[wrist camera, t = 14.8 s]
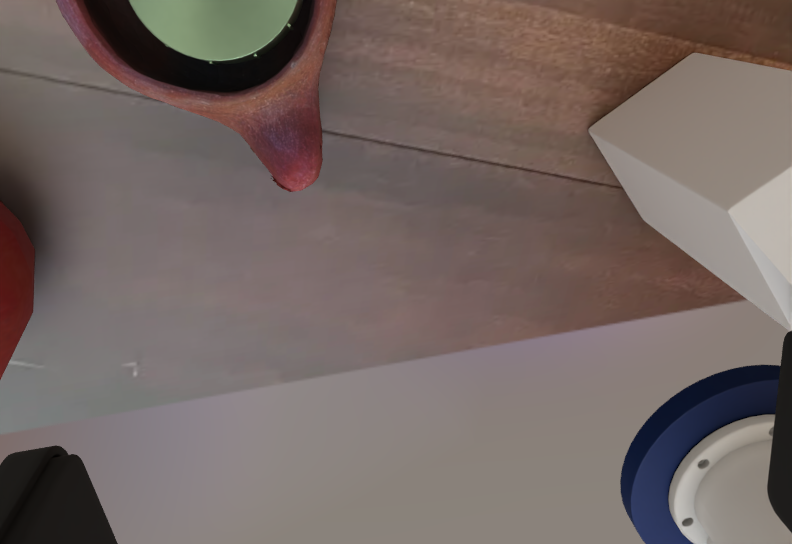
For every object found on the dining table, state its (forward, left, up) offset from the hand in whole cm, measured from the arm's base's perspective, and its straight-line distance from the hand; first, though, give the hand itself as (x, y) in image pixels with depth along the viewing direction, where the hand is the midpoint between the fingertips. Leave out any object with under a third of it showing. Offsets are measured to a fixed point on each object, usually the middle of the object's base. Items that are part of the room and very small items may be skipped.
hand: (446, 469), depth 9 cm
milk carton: (-2, -18, -30) cm, 35 cm away
